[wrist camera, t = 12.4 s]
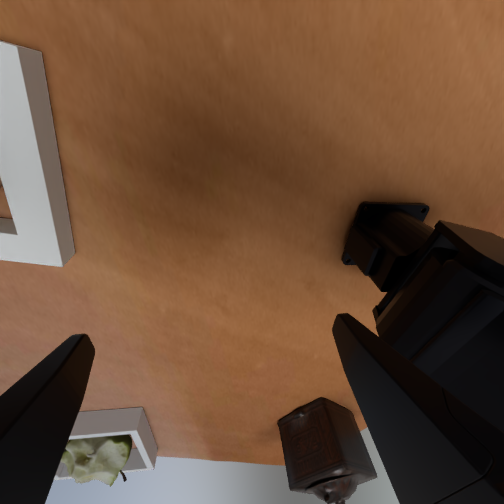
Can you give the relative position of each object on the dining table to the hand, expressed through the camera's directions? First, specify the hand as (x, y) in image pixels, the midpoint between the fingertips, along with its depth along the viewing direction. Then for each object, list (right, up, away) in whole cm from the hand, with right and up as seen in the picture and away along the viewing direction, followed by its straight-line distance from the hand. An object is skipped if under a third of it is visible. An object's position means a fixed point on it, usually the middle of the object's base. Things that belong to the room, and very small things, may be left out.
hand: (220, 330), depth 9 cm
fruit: (-22, -25, +30) cm, 45 cm away
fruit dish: (-24, -27, +31) cm, 47 cm away
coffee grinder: (+11, -29, +36) cm, 48 cm away
